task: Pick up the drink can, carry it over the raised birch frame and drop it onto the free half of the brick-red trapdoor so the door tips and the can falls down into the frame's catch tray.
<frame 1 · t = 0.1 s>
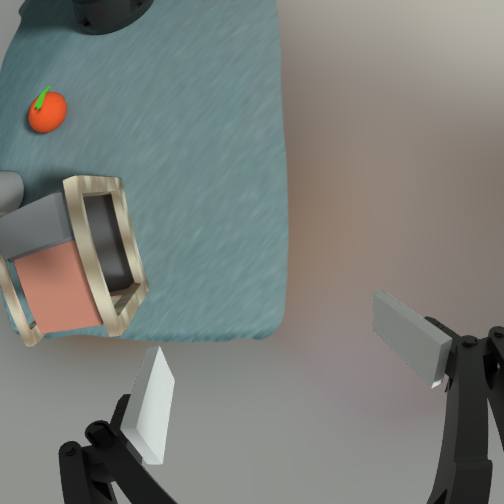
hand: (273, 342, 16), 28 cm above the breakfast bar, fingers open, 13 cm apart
can: (13, 191, 35), on the breakfast bar
trapdoor: (47, 269, 27), point 13 cm above the breakfast bar, hinge at 0.0°
frame: (88, 247, 40), on the breakfast bar
clementine: (59, 113, 34), on the breakfast bar
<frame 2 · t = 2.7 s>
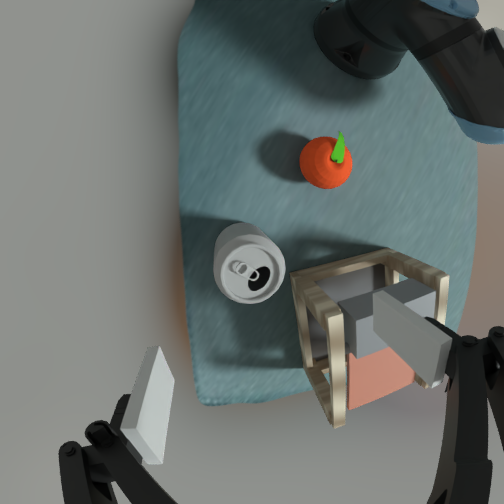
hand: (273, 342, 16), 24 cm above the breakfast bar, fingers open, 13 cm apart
can: (241, 248, 39), on the breakfast bar
trapdoor: (386, 352, 31), point 13 cm above the breakfast bar, hinge at 0.0°
frame: (346, 311, 43), on the breakfast bar
clementine: (317, 160, 37), on the breakfast bar
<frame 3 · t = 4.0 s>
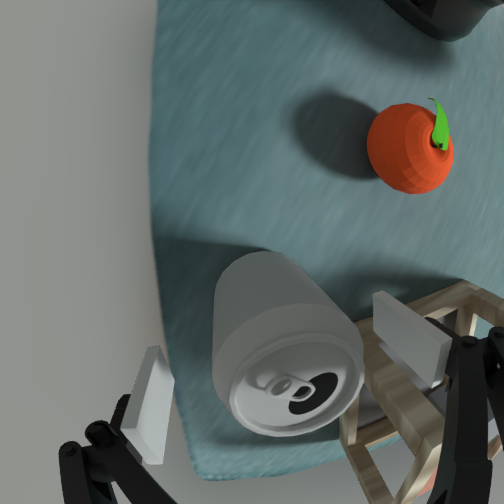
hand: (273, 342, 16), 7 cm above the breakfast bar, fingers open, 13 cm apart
can: (261, 293, 22), on the breakfast bar
trapdoor: (468, 440, 14), point 13 cm above the breakfast bar, hinge at 0.0°
frame: (405, 369, 26), on the breakfast bar
clementine: (386, 146, 21), on the breakfast bar
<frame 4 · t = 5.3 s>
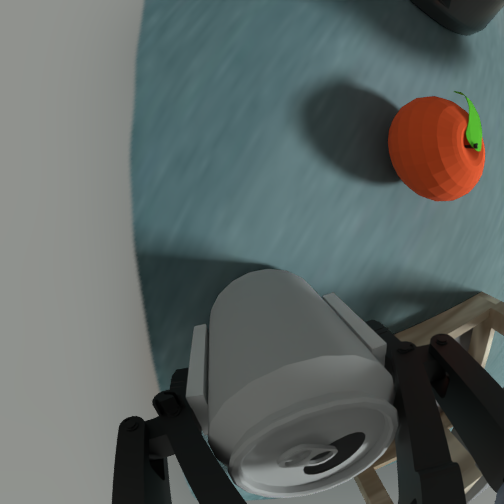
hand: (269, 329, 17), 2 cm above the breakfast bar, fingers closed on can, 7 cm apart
can: (264, 316, 19), on the breakfast bar, touching gripper
trapdoor: (485, 463, 11), point 13 cm above the breakfast bar, hinge at 0.0°
frame: (418, 388, 23), on the breakfast bar
clementine: (406, 145, 17), on the breakfast bar
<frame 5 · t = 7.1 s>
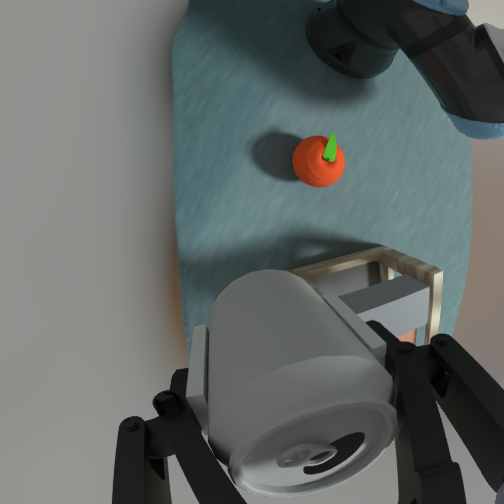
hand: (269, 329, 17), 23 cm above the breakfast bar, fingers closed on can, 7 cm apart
can: (264, 316, 19), point 21 cm above the breakfast bar, touching gripper
trapdoor: (381, 348, 31), point 13 cm above the breakfast bar, hinge at 0.0°
frame: (342, 309, 44), on the breakfast bar
clementine: (310, 160, 38), on the breakfast bar
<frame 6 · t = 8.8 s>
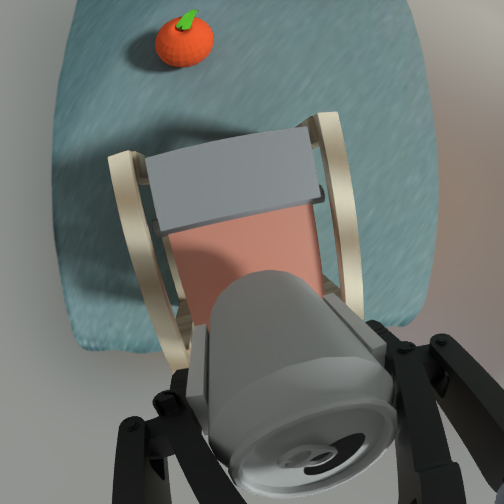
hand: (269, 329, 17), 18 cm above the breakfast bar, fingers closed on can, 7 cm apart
can: (264, 317, 19), point 17 cm above the breakfast bar, touching gripper
trapdoor: (247, 248, 21), point 13 cm above the breakfast bar, hinge at 0.0°
frame: (235, 225, 34), on the breakfast bar
clementine: (188, 51, 28), on the breakfast bar
when the fingers open (18 cm above the breakfast bar, at t = 9.2 s): can drops 7 cm, resting on trapdoor.
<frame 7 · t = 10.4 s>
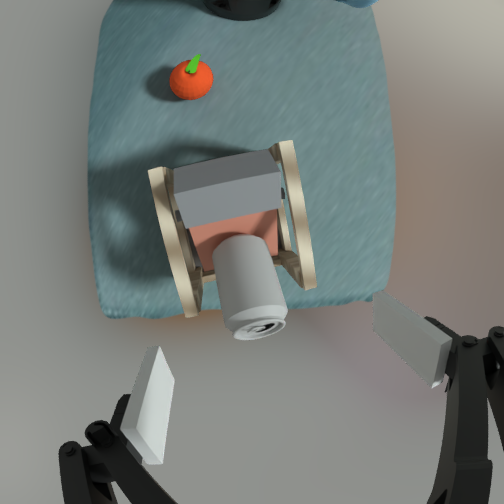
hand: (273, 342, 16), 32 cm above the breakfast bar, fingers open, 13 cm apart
can: (238, 246, 38), point 9 cm above the breakfast bar, touching trapdoor
trapdoor: (233, 222, 35), point 11 cm above the breakfast bar, hinge at -36.3°, touching can
frame: (230, 217, 46), on the breakfast bar
clementine: (194, 84, 40), on the breakfast bar
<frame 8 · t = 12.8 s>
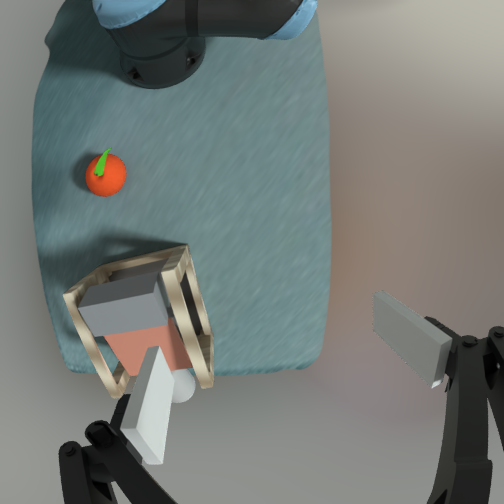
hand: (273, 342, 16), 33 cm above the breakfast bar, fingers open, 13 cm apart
can: (154, 360, 42), point 8 cm above the breakfast bar, touching frame
trapdoor: (140, 335, 36), point 12 cm above the breakfast bar, hinge at -13.4°
frame: (156, 302, 48), on the breakfast bar
clementine: (114, 172, 42), on the breakfast bar
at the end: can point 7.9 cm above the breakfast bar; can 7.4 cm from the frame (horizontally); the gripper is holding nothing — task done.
